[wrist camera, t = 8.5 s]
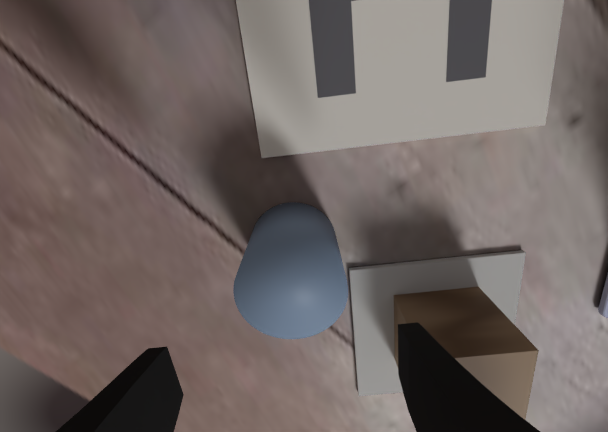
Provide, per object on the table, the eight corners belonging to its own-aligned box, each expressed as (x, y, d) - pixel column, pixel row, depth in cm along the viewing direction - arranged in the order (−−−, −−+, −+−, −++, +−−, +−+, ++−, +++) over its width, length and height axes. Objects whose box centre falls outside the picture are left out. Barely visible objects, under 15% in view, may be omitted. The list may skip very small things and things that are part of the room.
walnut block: (478, 286, 18) (538, 350, 14) (472, 352, 20) (523, 428, 15) (393, 294, 19) (424, 361, 14) (394, 359, 20) (422, 436, 16)
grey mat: (522, 250, 18) (525, 252, 18) (503, 379, 21) (505, 383, 21) (348, 267, 18) (349, 270, 18) (357, 392, 22) (358, 396, 21)
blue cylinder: (332, 197, 17) (344, 235, 12) (338, 274, 18) (351, 333, 14) (244, 207, 17) (223, 248, 12) (259, 282, 19) (244, 343, 14)
